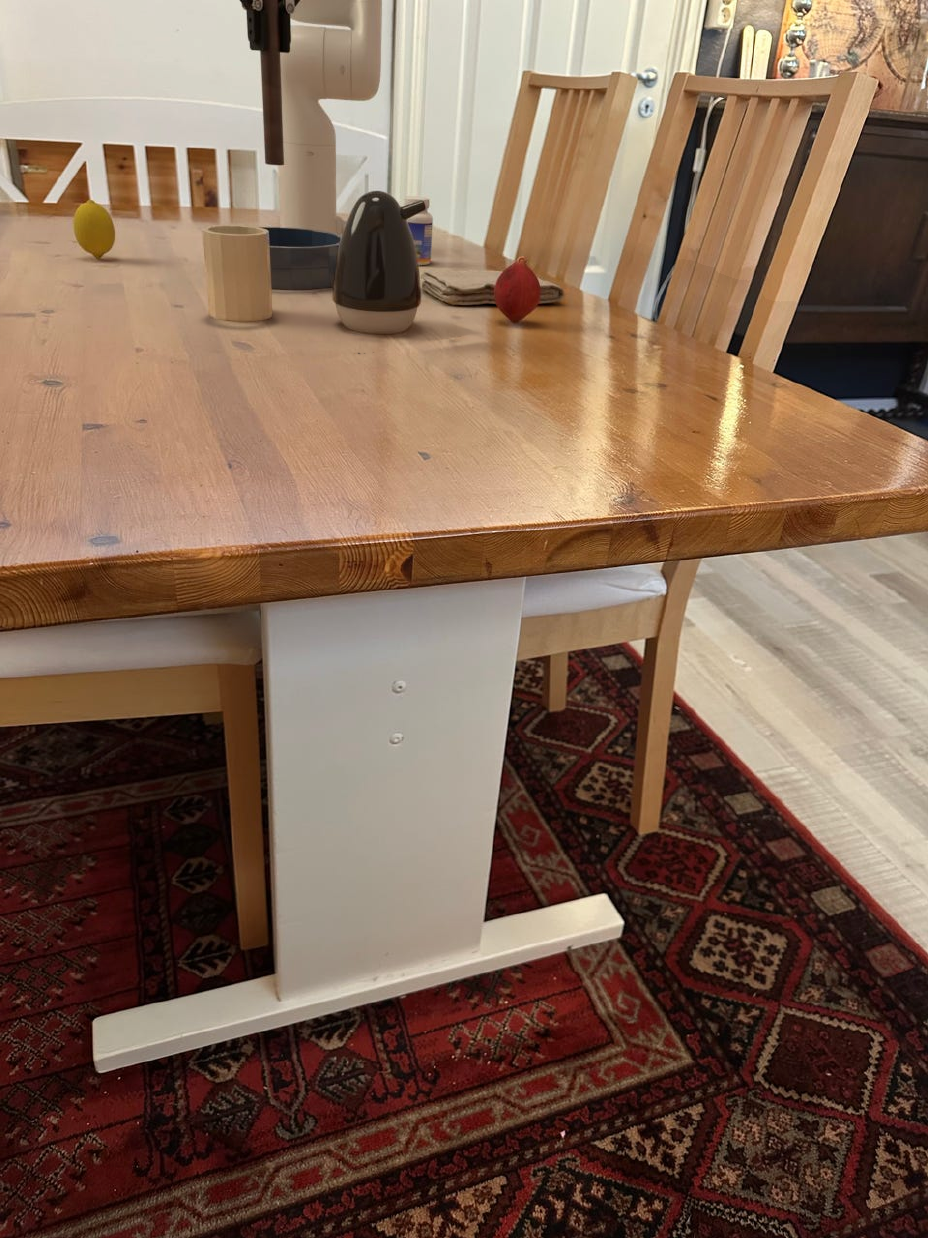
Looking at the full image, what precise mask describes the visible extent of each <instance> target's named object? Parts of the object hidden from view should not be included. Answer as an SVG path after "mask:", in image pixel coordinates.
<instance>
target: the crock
mask: <svg viewBox="0 0 928 1238" xmlns="http://www.w3.org/2000/svg"><path fill="white" fill-rule="evenodd" d="M259 227H260V226H252V225H242V224H241V225H240V224H215V225H209V226H205V227H203V228H202V229H201V231H202V233H201V234H202V245H203V255H204V256H203V258H204V270H205V283H206V295H207V307H208V314H209V316H210V317H211V318H214V319H217V320H220V321H227V322H237V323H238V322H239V323H247V322H248V323H249V322H260V321H265V320H268V319H270V318H272V316H273V293H272V289H271V269H270V246H269V231H268V230H266V229H263V228H259Z"/></svg>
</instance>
